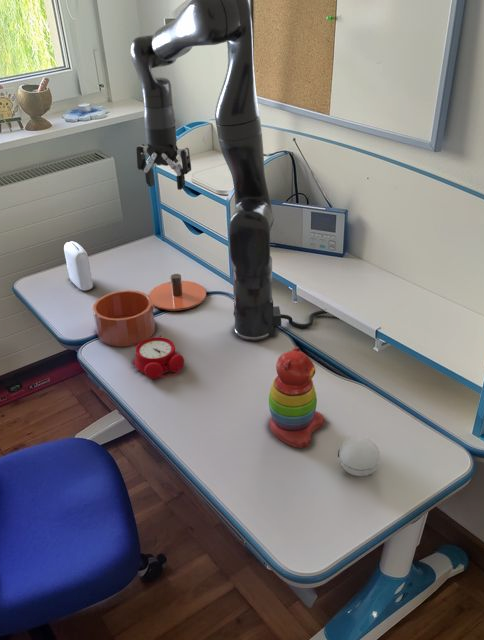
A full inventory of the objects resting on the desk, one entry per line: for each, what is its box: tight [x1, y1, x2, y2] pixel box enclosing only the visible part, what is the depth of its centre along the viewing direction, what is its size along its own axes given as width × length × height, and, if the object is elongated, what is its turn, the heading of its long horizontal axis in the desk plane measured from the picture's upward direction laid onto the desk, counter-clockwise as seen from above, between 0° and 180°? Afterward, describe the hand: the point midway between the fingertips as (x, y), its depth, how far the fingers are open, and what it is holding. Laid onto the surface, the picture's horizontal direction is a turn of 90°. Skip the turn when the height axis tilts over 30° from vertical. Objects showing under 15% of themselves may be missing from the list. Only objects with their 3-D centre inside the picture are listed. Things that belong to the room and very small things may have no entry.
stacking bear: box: [268, 346, 326, 449], centre depth 128 cm, size 11×10×18 cm
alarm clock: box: [131, 334, 185, 380], centre depth 152 cm, size 10×6×15 cm
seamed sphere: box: [337, 435, 381, 477], centre depth 119 cm, size 10×7×7 cm
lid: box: [148, 273, 207, 312], centre depth 178 cm, size 16×16×7 cm
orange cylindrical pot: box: [92, 289, 156, 347], centre depth 165 cm, size 15×15×8 cm
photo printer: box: [63, 240, 94, 291], centre depth 186 cm, size 10×4×12 cm, turn 32°
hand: (165, 187), depth 171 cm, fingers open, 8 cm apart
